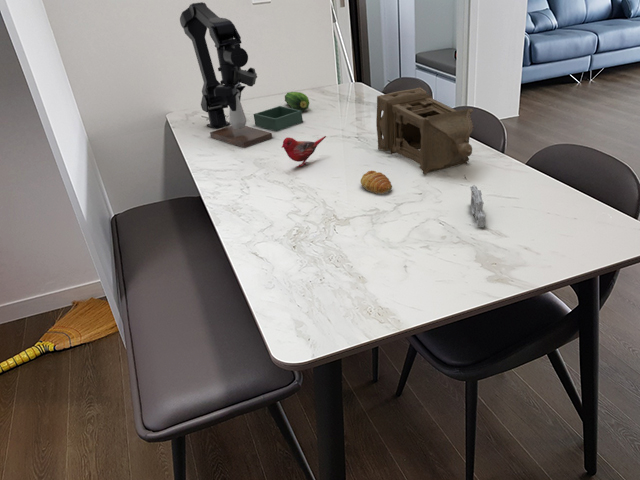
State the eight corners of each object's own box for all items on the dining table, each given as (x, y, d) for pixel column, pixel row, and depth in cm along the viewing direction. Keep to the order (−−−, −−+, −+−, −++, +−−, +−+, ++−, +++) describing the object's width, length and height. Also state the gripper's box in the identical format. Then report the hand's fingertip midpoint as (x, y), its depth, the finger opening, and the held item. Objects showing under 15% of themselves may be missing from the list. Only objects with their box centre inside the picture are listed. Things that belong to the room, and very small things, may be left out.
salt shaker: (231, 125, 188) (224, 88, 181) (247, 124, 188) (241, 86, 181) (229, 130, 183) (222, 92, 176) (246, 129, 183) (240, 90, 176)
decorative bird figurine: (281, 172, 156) (277, 139, 151) (324, 154, 167) (321, 122, 162) (288, 174, 154) (283, 140, 149) (331, 156, 165) (328, 124, 160)
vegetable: (296, 92, 203) (283, 82, 219) (290, 110, 205) (277, 99, 222) (314, 98, 207) (299, 88, 223) (307, 116, 209) (294, 105, 225)
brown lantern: (489, 182, 146) (502, 115, 138) (435, 189, 139) (446, 118, 130) (419, 145, 173) (427, 86, 164) (371, 149, 166) (377, 88, 157)
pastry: (398, 191, 139) (398, 177, 137) (377, 198, 137) (376, 184, 135) (378, 180, 146) (378, 167, 144) (357, 186, 144) (356, 173, 142)
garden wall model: (485, 228, 119) (487, 204, 116) (477, 228, 119) (478, 204, 116) (476, 205, 129) (477, 182, 126) (468, 205, 129) (469, 182, 126)
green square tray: (255, 125, 199) (253, 114, 196) (281, 117, 206) (279, 105, 204) (276, 131, 191) (274, 119, 189) (302, 122, 198) (301, 110, 196)
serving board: (210, 137, 190) (209, 132, 189) (238, 128, 197) (237, 123, 196) (244, 147, 177) (243, 142, 177) (272, 138, 185) (271, 132, 184)
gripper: (243, 68, 165) (251, 118, 173) (259, 56, 181) (266, 102, 189) (208, 69, 167) (218, 119, 175) (228, 57, 183) (236, 103, 191)
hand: (236, 110), depth 182 cm, fingers closed on salt shaker, 3 cm apart
